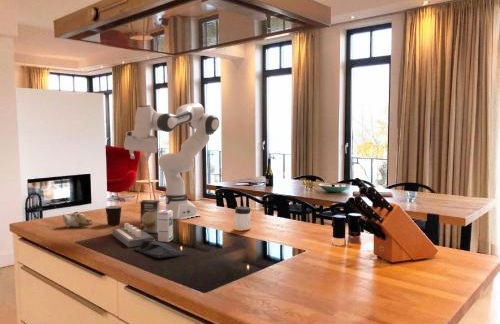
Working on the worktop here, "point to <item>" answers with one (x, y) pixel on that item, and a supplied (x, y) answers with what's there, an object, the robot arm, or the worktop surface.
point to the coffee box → (149, 216)
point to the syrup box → (165, 225)
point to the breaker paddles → (132, 230)
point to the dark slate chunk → (158, 249)
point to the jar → (242, 217)
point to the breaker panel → (130, 237)
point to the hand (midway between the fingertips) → (139, 159)
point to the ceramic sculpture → (76, 220)
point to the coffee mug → (113, 215)
